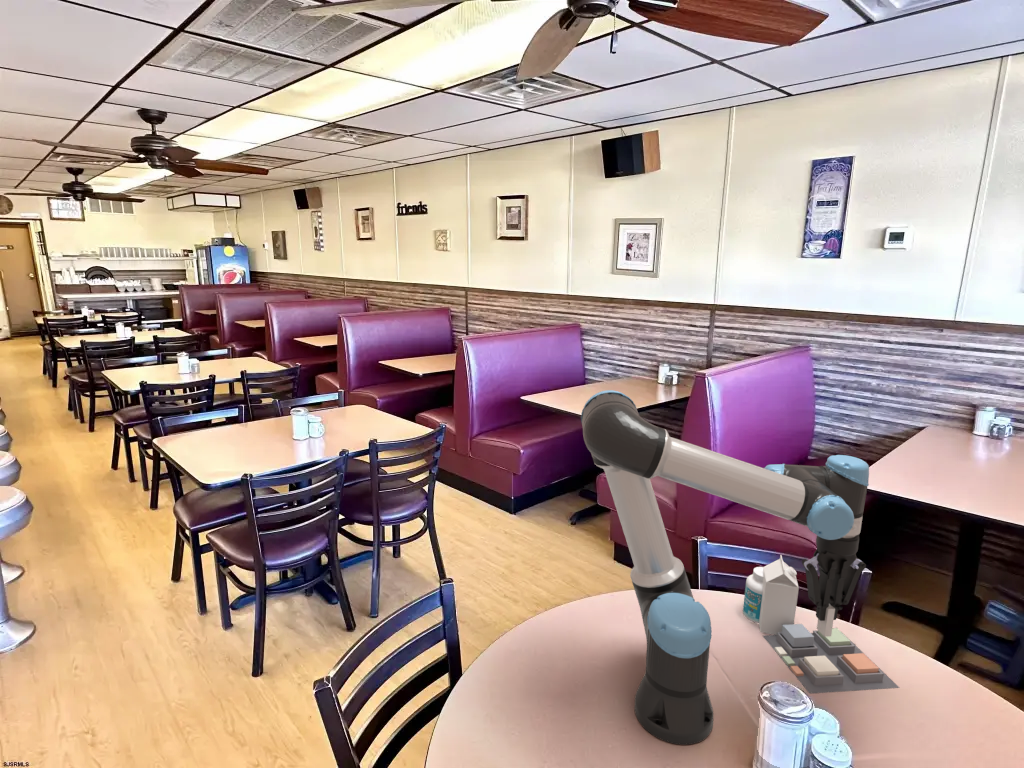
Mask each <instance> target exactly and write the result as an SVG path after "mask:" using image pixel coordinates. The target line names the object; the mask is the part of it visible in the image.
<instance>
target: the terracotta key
mask: <svg viewBox="0 0 1024 768" xmlns="http://www.w3.org/2000/svg"><path fill="white" fill-rule="evenodd" d="M842 659H843V660H844V661H845V662H846V663H847V664H848V665H849V666H850V667H851V669H852V670H853V671H854V672H855V673H856V674H865V673H878V670H879V668H880V667H879V666H878V665H877V664H876V663H875V662H874V661H873V660H872V659H870V658H869V656H867V654H866V653H864V652H863V653H858V654H843V657H842ZM874 663H875V664H876V665H877V666H878V667H879V668H878V667H877V666H876V665H875V664H874Z"/></svg>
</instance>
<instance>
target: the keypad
mask: <svg viewBox="0 0 1024 768" xmlns="http://www.w3.org/2000/svg"><path fill="white" fill-rule="evenodd" d="M810 633H811V634H812V635H813V636H814V643H813V646H806V647H792V645H791V644H790V643H789V642H788V641H787V640H786V639H785V637H784V636H783V635H782V632H779V633H777V635H773V634H768V635H767V634H764V635H762V637H763V638H764V640H765V641H766V642H767V643H768V645H769V646H770V647H771V648H772V649H773V651H774V653H776V654H777V656H778V657H779V658H780V659H781V661H782V662H783V663H784V664H785V665H786V667H787V668H788V669H789V670H790V671H791V673H792V674H793V676H794V677H795V678H796V679H797V680H798V681H799V683H800V684H801V685H802V686H803V688H804V689H805V690H806V691H807V692H808V694H810V695H811V694H824V693H825V694H827V693H838V692H840V693H841V692H842V693H843V692H855V691H868V690H869V691H870V690H871V691H873V690H885V689H886V690H888V689H900V686H899V685H898V684H897V683H895V682H894V681H893V679H891V677H890V676H889V675H887V673H885V672H884V671H883V670H882V669H881V668H880V667H879V666H878V665H877V664H876V663H875V662H873V663H874V664H875V665H876V666H877V667H878V668H879V670H878V673H865V674H856V673H855V672H854V671H853V670H852V669H851V667H850V666H849V665H848V664H847V663H846V662H845V661H844V660H843V659H842V657H843V654H858V653H864V652H863V651H862V650H861V649H860V648H859V646H857V645H856V644H855V643H854V642H853V641H852V640H851V639H850V638H848V639H849V640H850V641H851V642H850V645H846V646H829V645H828V644H827V643H826V642H825V641H824V640H823V639H822V638H821V637H820V636H819V635H818V634H817V633H818V630H817V629H815V630H812V632H810ZM808 656H826V657H827V658H828V659H829V660H830V661H831V663H832V664H833V665H834V666H835V667H836V668H837V669H838V670H839V675H832V676H816V675H815V674H814V673H813V672H812V670H811V669H810V668H809V667H808V666H807V665H806V664H805V662H804V657H808Z"/></svg>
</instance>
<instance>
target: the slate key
mask: <svg viewBox="0 0 1024 768" xmlns="http://www.w3.org/2000/svg"><path fill="white" fill-rule="evenodd" d="M811 633H812V632H810V631H809V629H807V628H806V626H805V625H804V624H802V623H796V624H795V623H794V624H789V625H782V635H783V636H784V637H785V639H786V640H787V641H788V642H789V643H790V644H791V645H792V647H806V646H813V643H814V636H813V635H812V634H811Z"/></svg>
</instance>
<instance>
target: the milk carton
mask: <svg viewBox="0 0 1024 768" xmlns="http://www.w3.org/2000/svg"><path fill="white" fill-rule="evenodd" d="M763 567H764V568H763V576H764V578H763V593H762V601H761V609H760V617H759V623H758V626H759V633H763V634H766V635H767V634H768V635H777V633H779V632H782V625H789V624H795V617H796V609H797V604H798V596H799V589H800V588H799V583H798V579H797V575H798V574H797V571H796V570H795V568H794V567H792V566H789V565H788V564H787V563H786V562H784V560H783V556H782V554H780V556H779V559H777V560H775V561H772V562H771V563H769V564H767V565H765V566H763Z"/></svg>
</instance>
